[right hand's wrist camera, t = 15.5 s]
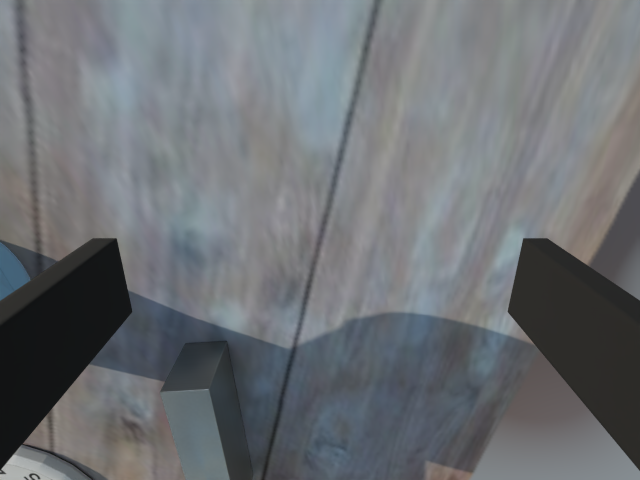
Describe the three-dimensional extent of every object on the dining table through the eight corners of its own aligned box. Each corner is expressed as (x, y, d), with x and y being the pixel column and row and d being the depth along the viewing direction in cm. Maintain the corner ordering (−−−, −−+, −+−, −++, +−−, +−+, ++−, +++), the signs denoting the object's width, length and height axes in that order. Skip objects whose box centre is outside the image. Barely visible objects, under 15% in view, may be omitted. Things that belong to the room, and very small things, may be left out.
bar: (185, 343, 50) (159, 392, 42) (226, 340, 50) (209, 389, 42) (218, 476, 60) (202, 537, 52) (253, 474, 60) (242, 535, 51)
